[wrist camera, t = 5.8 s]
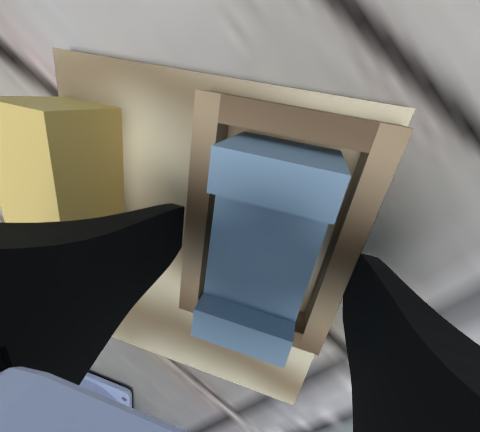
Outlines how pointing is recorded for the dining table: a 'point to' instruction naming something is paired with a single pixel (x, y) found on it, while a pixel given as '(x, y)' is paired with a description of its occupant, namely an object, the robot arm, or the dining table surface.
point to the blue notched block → (265, 239)
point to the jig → (202, 204)
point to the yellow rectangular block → (59, 159)
